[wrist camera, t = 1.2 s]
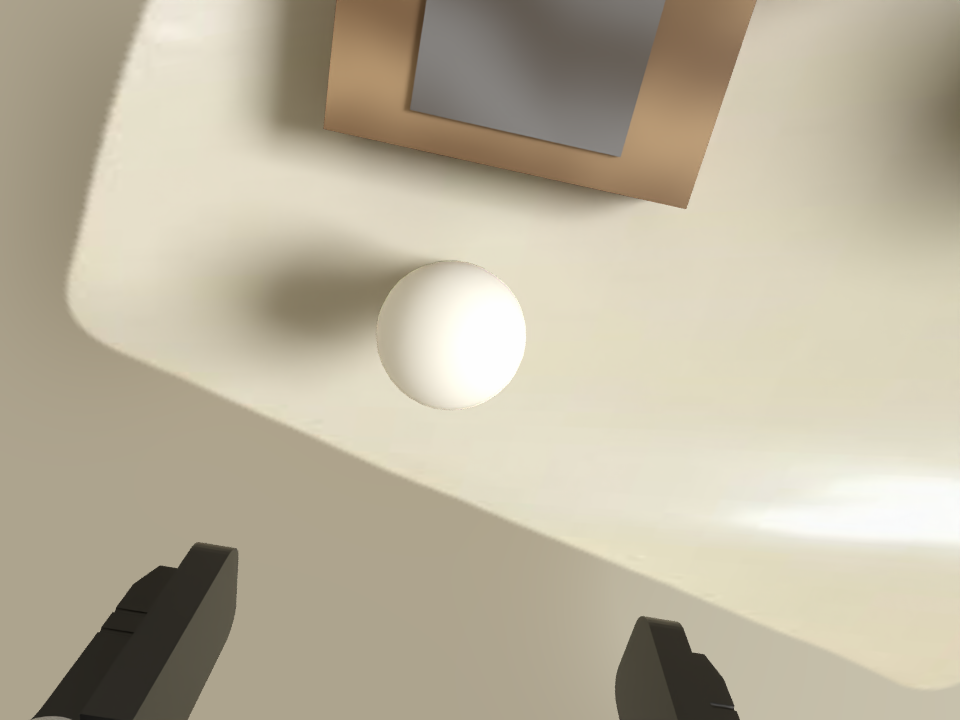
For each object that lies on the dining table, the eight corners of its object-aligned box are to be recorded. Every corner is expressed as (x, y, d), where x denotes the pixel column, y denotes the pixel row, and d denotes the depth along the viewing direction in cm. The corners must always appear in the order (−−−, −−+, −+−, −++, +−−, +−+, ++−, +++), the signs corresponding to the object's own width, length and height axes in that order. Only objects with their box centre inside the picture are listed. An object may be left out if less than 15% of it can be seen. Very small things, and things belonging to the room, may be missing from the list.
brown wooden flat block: (379, -184, 25) (358, -239, 21) (753, -89, 26) (801, -123, 22) (344, 125, 29) (321, 129, 25) (662, 196, 30) (688, 210, 26)
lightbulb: (415, 343, 34) (382, 446, 24) (393, 233, 31) (345, 297, 21) (524, 328, 33) (538, 428, 23) (510, 216, 31) (519, 272, 21)
